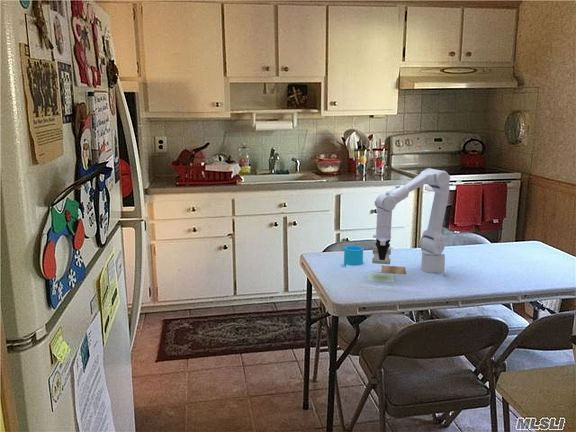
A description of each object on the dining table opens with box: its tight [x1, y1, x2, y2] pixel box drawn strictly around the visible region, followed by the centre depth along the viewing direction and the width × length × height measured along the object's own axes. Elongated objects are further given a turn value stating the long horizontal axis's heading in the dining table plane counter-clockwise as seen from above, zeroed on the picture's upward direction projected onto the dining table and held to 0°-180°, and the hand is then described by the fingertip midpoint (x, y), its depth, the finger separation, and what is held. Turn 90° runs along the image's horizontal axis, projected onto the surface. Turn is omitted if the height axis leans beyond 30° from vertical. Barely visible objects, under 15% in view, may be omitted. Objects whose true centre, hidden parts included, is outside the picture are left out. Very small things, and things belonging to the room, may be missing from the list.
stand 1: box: [367, 272, 395, 287], centre depth 208 cm, size 10×10×2 cm
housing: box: [371, 247, 392, 265], centre depth 206 cm, size 7×4×5 cm, turn 79°
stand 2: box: [380, 264, 407, 275], centre depth 217 cm, size 10×10×2 cm
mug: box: [343, 245, 364, 268], centre depth 228 cm, size 12×8×8 cm
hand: (382, 258), depth 206 cm, fingers closed on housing, 4 cm apart
